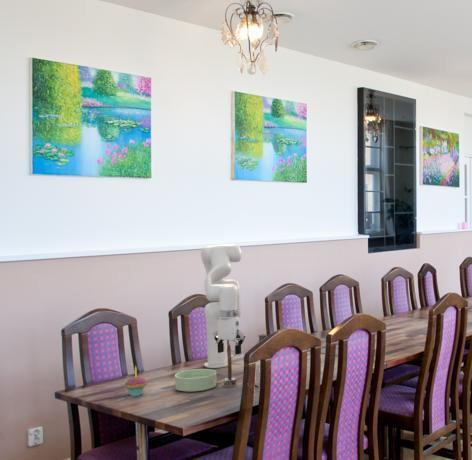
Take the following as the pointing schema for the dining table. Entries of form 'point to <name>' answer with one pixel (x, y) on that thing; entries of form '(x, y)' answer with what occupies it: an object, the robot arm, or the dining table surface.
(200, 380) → the bowl
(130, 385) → the cupcake
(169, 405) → the dining table surface
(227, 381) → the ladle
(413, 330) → the dining table surface
